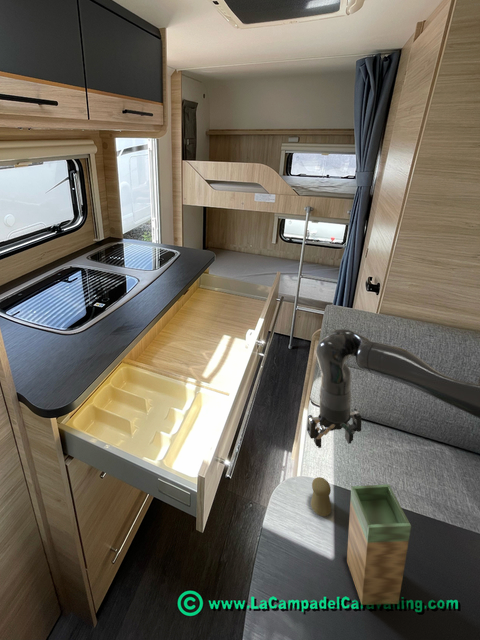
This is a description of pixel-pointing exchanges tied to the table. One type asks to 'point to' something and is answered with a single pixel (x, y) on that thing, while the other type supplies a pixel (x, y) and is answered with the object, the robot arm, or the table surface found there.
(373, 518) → the box
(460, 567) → the table surface
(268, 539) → the table surface
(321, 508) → the cork
